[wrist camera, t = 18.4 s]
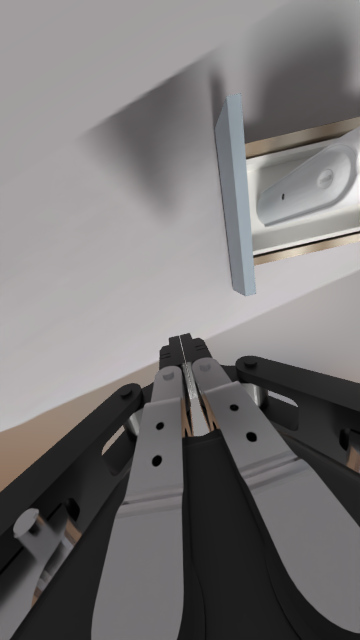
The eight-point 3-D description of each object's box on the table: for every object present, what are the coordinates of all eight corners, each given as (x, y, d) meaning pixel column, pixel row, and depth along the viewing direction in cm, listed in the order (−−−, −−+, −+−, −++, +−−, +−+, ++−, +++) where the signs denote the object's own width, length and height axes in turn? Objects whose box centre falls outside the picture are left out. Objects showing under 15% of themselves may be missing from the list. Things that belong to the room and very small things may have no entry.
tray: (368, 92, 18) (419, 49, 15) (351, 263, 24) (385, 264, 20) (214, 129, 19) (226, 96, 15) (233, 290, 24) (245, 296, 20)
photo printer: (258, 233, 21) (366, 205, 10) (251, 193, 20) (369, 102, 8) (344, 204, 21) (566, 137, 9) (343, 160, 20) (606, 16, 8)
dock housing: (372, 129, 20) (413, 103, 16) (360, 237, 23) (391, 233, 20) (231, 162, 20) (244, 144, 17) (241, 264, 24) (253, 265, 20)
